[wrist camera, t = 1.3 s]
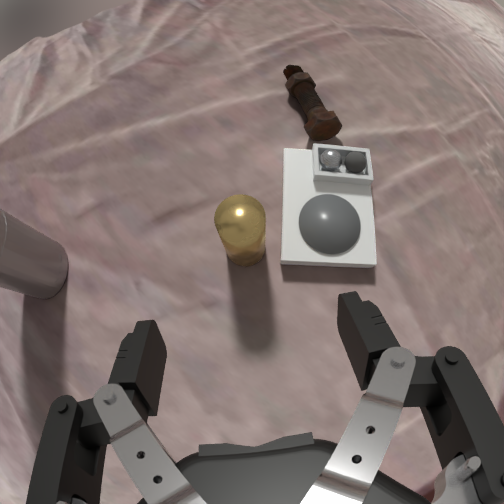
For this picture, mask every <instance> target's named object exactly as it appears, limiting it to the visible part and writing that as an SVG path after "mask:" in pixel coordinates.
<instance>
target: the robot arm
mask: <svg viewBox="0 0 504 504" xmlns="http://www.w3.org/2000/svg"><path fill="white" fill-rule="evenodd" d="M67 272H68V259H67V255H66V252H65V250H64V248H63V247H62V246H61V245H60V244H59V243H58V242H56V241H54V240H52V239H51V238H49V237H47V236H45V235H44V234H42V233H40V232H39V231H37V230H35V229H33V228H32V227H30V226H28V225H27V224H25V223H23V222H21V221H20V220H18V219H16V218H15V217H13V216H12V215H10V214H8V213H7V212H5V211H3V210H2V209H0V287H2V288H5V289H9V290H12V291H15V292H19V293H22V294H25V295H29V296H33V297H36V298H41V299H48V298H50V297H53V296H54V295H55V294H57V292H58V291H59V290H60V289H61V287H62V286H63V284H64V282H65V279H66V276H67ZM337 325H338V331H339V334H340V337H341V340H342V342H343V345H344V347H345V350H346V352H347V355H348V357H349V360H350V362H351V365H352V367H353V370H354V373H355V375H356V378H357V380H358V383H359V386H360V388H361V391H362V390H366V389H367V391H366V393H365V394H363V396H362V397H361V399H360V402H359V404H358V406H357V408H356V410H355V412H354V414H353V416H352V418H351V420H350V422H349V424H348V426H347V428H346V430H345V432H344V434H343V436H342V438H341V440H340V441H339V443H338V444H336V443H334V442H331V441H327V440H321V439H313V436H312V432H310V433H304V434H298V435H292V436H286V437H282V438H279V439H277V440H274V441H271V442H269V443H266V444H263V445H260V446H257V447H250V446H242V445H234V444H227V443H223V444H205V445H199V452H197V453H194V454H191V455H189V456H187V457H185V458H183V459H182V460H180V461H179V462H176V461H175V460H174V459H173V458H172V456H171V455H170V454H169V453H168V451H167V450H166V449H165V447H164V446H163V445H162V443H161V442H160V441H159V439H158V438H157V436H156V435H155V434H154V432H153V431H152V429H151V428H150V427H149V425H148V424H147V419H148V416H157V412H158V405H159V399H160V393H161V387H162V381H163V375H164V369H165V363H166V358H167V351H166V346H165V343H164V341H163V338H162V336H161V333H160V331H159V329H158V326H157V324H156V322H155V320H145V321H138V322H137V323H136V326H135V329H134V332H133V333H128V334H127V336H126V337H125V338H124V339H123V340H122V342H121V345H120V348H119V352H118V354H117V357H116V358H117V359H116V360H115V363H114V366H113V369H112V372H111V375H110V378H109V382H108V384H107V385H104V386H102V387H101V388H100V389H98V391H97V392H96V393H95V395H94V398H92V399H88V400H84V401H80V402H77V401H76V400H75V399H74V398H73V397H72V396H69V395H64V396H61V397H59V398H57V399H56V400H55V401H54V402H53V403H52V405H51V407H50V410H49V413H48V417H47V420H46V423H45V426H44V430H43V433H42V437H41V440H40V444H39V448H38V451H37V455H36V459H35V463H34V467H33V472H32V476H31V481H30V485H29V490H28V495H27V501H26V504H99V503H100V493H101V484H102V476H103V468H104V461H105V454H106V447H107V444H111V445H112V447H113V449H114V450H115V452H116V454H117V456H118V457H119V459H120V461H121V463H122V464H123V466H124V468H125V469H126V471H127V473H128V474H129V476H130V477H131V479H132V481H133V482H134V484H135V485H136V487H137V488H138V490H139V491H140V493H141V494H142V496H143V498H142V499H141V500H140V501H139V502H138V503H137V504H501V503H503V502H504V426H503V423H502V421H501V419H500V417H499V415H498V413H497V411H496V409H495V407H494V405H493V403H492V402H491V400H490V398H489V396H488V394H487V392H486V390H485V388H484V387H483V385H482V383H481V381H480V379H479V378H478V376H477V374H476V372H475V371H474V369H473V367H472V365H471V364H470V362H469V360H468V359H467V357H466V355H465V354H464V353H463V352H462V351H461V350H460V349H458V348H456V347H452V346H447V347H443V348H441V349H439V350H438V352H437V353H436V355H435V356H431V357H418V356H414V355H413V353H412V352H411V351H409V350H408V349H406V348H403V347H401V346H400V345H399V343H398V341H397V339H396V338H395V336H394V334H393V332H392V331H391V329H390V327H389V325H388V324H387V323H386V320H385V319H384V317H383V316H382V313H381V312H380V310H379V308H378V307H377V306H376V305H374V304H373V303H372V302H370V301H369V300H368V301H363V302H362V300H361V299H360V297H359V295H358V293H357V292H356V291H354V292H348V293H343V294H339V296H338V315H337ZM403 407H420V409H421V411H422V414H423V416H424V419H425V422H426V424H427V427H428V430H429V432H430V435H431V438H432V441H433V443H434V446H435V449H436V452H437V455H438V458H439V461H440V464H441V467H442V471H441V472H440V473H439V474H438V476H437V477H436V480H435V485H434V486H435V496H434V499H433V501H432V503H430V502H429V501H428V500H427V499H426V498H424V497H423V496H421V495H419V494H418V493H416V492H414V491H412V490H411V489H409V488H407V487H405V486H404V485H402V484H400V483H399V482H397V481H395V480H394V479H392V478H390V477H389V476H387V475H386V474H384V473H382V472H381V471H379V470H378V469H379V467H380V464H381V462H382V460H383V458H384V455H385V453H386V450H387V448H388V446H389V443H390V441H391V438H392V436H393V433H394V430H395V428H396V425H397V422H398V420H399V417H400V414H401V411H402V408H403Z"/></svg>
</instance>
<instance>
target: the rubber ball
mask: <svg viewBox="0 0 504 504" xmlns="http://www.w3.org/2000/svg"><path fill="white" fill-rule="evenodd" d="M344 163H345V167H346V169H347V170H348V171H349V172H351V173H354V174H357V173H361V172H362V171H363V170H364V169H365V167H366V159H365V157H364V156H363V155H362V154H361V153H359V152H351V153H349V154H348V155H347V156H346V157H345V161H344Z"/></svg>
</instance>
